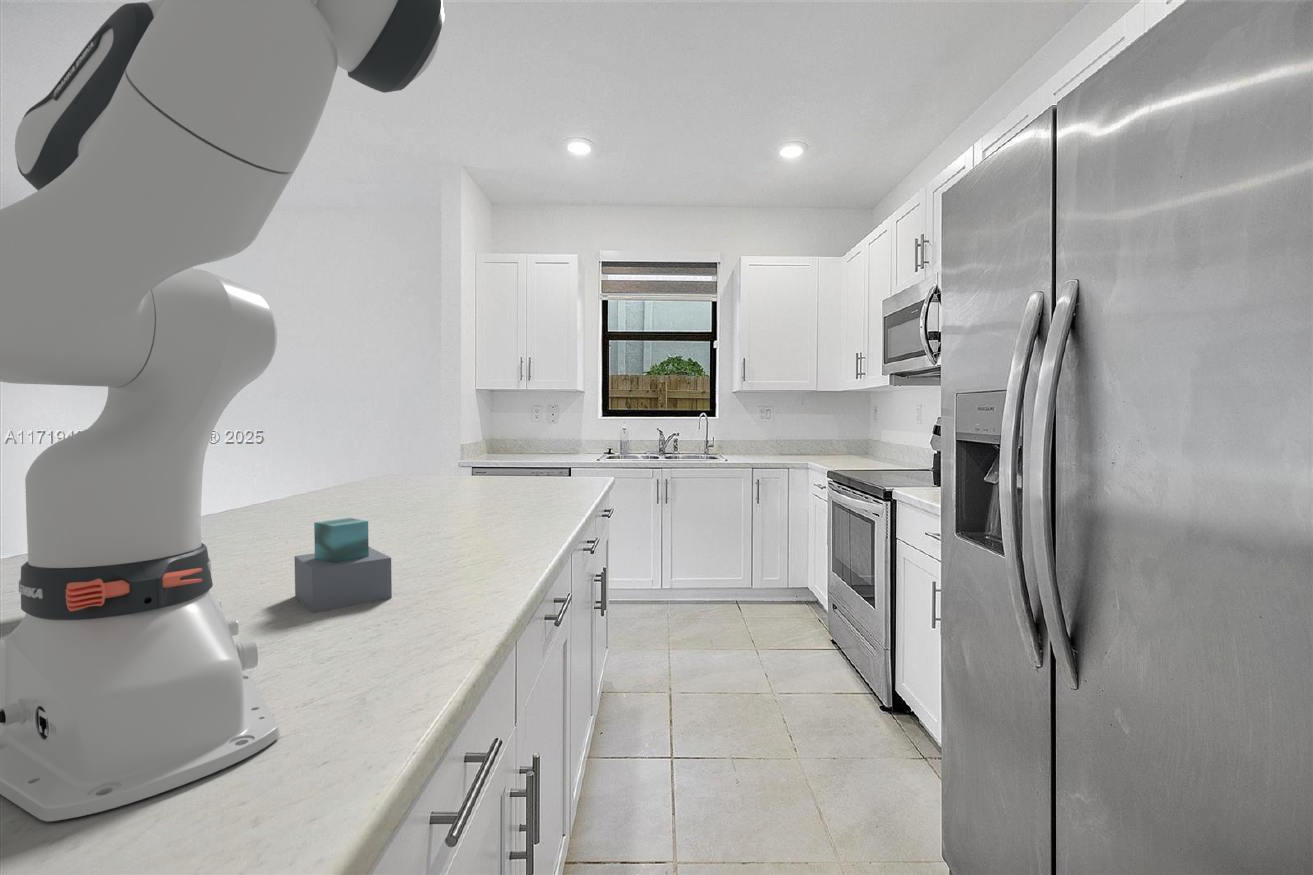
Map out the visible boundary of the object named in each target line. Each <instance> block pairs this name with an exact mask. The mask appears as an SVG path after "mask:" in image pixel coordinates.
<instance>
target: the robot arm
mask: <svg viewBox="0 0 1313 875" xmlns="http://www.w3.org/2000/svg"><path fill="white" fill-rule="evenodd" d="M443 6H444V4H443V0H149V1H146V2H142V1H141V2H139V1H138V2H130V3H124V4H123V5H121V6H119V7H118V8H117V9H116V10H115V11H114V12H113V13H112V14H111V15H110V16H109V17H108V18H107V19H106V20H105V22H104V23H102V25H101V26H100V27H99V28H98V29H97V31H96V32H95V33H94V34H93V36H92V37H91V38H90V39H89V40H88V42H87V43H86V45H85V46H84V47H83V48H82V50H81V51H80V53H79V54H78V55H77V56H76V58H75V59H74V61H73V62H72V63H71V65H69V67H68V69H66V71H65V72H64V74H63V75H62V76H61V78H59V80H58V82H57V83H56V84H55V85H54V87H53V88H52V89H51V91H50V92H49V93H48V94H47V95H46V96H45V97H44V98H43V99H41V100H40V101H38V102H37V103H35V104H34V105H33V106H31V107H30V108H29V109H28V110H27V111H26V112H25V114H24V116H23V117H22V119H21V121H20V123H19V125H18V127H17V130H16V134H15V139H14V152H15V155H14V156H15V159H16V165H17V168H18V172H19V173H20V175H21V176H22V177H23V178H24V180H25V181H27V182H28V183H29V184H30V185H31V186H32V187H33V188H35V189H36V190H37V191H34V193H31V194H30V195H28V196H26V197H24V198H23V199H21V200H18V201H17V202H14V203H12V204H9V205H7V206H5V207H4V208H1V209H0V382H2V383H8V384H19V385H20V384H23V385H50V386H51V385H52V386H53V385H54V386H55V385H56V386H81V387H82V386H83V387H105V388H107V398H106V402H105V405H104V406H103V410H102V411H101V413H100V415H99V416H98V418H97V419H96V420H95V421H94V422H93V424H91V425H90V426H89V427H88V428H87V429H84V430H82V431H79V432H77V433H74V434H72V435H70V436H67V437H65V438H63V439H61V440H59V441H57V442H55V443H53V444H51V445H50V446H48V447H47V448H45V449H44V450H43V451H42V452H41V453H40V454H39V455H38V456H37V457H36V458H35V459H34V461H33V462H32V463H31V465H30V467H29V469H28V470H27V472H26V475H25V481H24V482H25V486H24V487H25V509H26V510H25V512H26V540H27V541H26V542H27V561H26V562H25V563H23V564H22V565H21V566H20V579H19V581H18V593H19V594H20V609H21V611H23V612H24V613H25V616H24V617H23V619H22V620H21V621H20V623H19V624H18V625H17V626H16V627H15V628H14V629H13V630H12V632H10V633H9V634H8V635H7V636H5V637H4V638H3V639H2V640H0V795H1V796H3V797H4V798H6V799H7V800H9V801H11V803H13V804H15V805H17V806H19V808H21V809H23V810H24V811H26V812H27V813H29V814H31V815H32V816H33V817H35V818H37V819H38V820H41V821H44V822H58V821H61V820H62V821H63V820H69V819H74V818H79V817H83V816H87V815H93V814H97V813H99V812H100V813H101V812H104V811H108V810H111V809H116V808H119V807H122V806H125V805H129V804H132V803H134V802H135V803H136V802H137V801H141V800H144V799H146V798H147V799H148V798H150V797H153V796H156V795H159V794H161V793H164V792H167V791H170V790H172V789H175V788H178V787H181V786H184V785H186V784H188V783H191V782H194V781H196V780H199V779H202V778H204V777H206V776H209V775H211V774H214V773H216V772H219V771H221V770H224V769H226V768H228V767H230V766H232V765H234V764H236V763H238V762H241V761H242V760H245V759H247V758H249V757H251V756H252V755H255V754H256V753H258V752H260V751H261V750H263V749H265V748H266V747H267V746H269V745H270V744H272V743H274V742H275V741H277V739H278V738H279V737H280V731H279V730H280V729H279V725H278V722H277V720H276V718H275V716H274V713H272V711H271V709H270V707H269V705H268V703H267V701H266V699H265V697H264V696H263V694H262V692H261V690H260V688H259V687H258V685H257V683H256V681H255V679H254V677H253V675H252V673H251V672H250V671H248V670H252V669H255V668H256V667H258V662H259V655H258V653H259V652H258V647H257V643H256V641H254V640H253V641H252V640H250V641H249V640H248V641H244V642H240V643H236V644H235V642H234V638H233V637H234V636H237V635H238V634H239V623H238V620H237V619H231V620H227V619H226V617H225V614H224V611H223V609H222V606H223V605H222V600H221V599H219V598H218V597H217V596H214V595H212V594H211V591H210V590H211V589H212V587H213V586H214V584H213V578H212V572H211V571H212V561H211V559H210V558H209V553H208V547H207V545H206V544H204V543H203V542H202V493H203V492H202V490H203V489H202V488H203V472H204V463H205V458H206V452H207V449H208V446H209V442H210V439H211V436H212V434H213V432H214V429H215V427H216V425H217V423H218V422H219V419H220V418H221V416H222V415H223V413H224V411H225V409H226V408H227V407H228V406H229V404H230V403H231V401H232V400H233V399H234V398H235V397H236V396H237V395H238V393H240V392H241V391H242V390H243V389H244V388H245V387H246V386H248V385H249V384H251V383H252V382H253V381H256V380H257V379H258V378H259V377H260V376H262V375H263V373H264V372H266V370H267V368H268V367H269V365H270V364H271V362H272V359H273V358H274V355H275V353H276V349H277V345H278V344H277V343H278V330H277V324H276V321H275V318H274V315H273V312H272V310H271V307H269V305H268V303H267V302H266V300H265V299H264V297H262V296H261V295H260V294H259V293H258V292H257V291H255V290H253V289H251V288H249V287H246V286H245V285H241V284H239V283H237V282H234V281H232V280H230V279H227V278H224V277H222V276H220V275H217V274H214V273H212V272H209V271H206V270H202V269H197V268H194V267H196V266H201V265H205V264H209V263H213V262H218V261H221V260H224V259H228V258H231V257H233V256H235V255H238V254H239V253H241V252H243V251H244V250H246V249H248V247H249V246H251V245H252V244H253V242H254V241H255V240H256V239H257V237H258V235H259V234H260V232H261V230H262V228H263V227H264V225H265V223H266V222H267V220H268V218H269V216H270V214H272V211H273V209H274V208H275V206H276V204H277V202H278V201H279V199H280V197H281V195H282V194H283V192H284V190H286V187H287V186H288V184H289V182H290V180H291V178H292V177H293V175H294V174H295V171H296V170H297V168H298V166H299V165H300V163H301V161H302V159H303V157H304V155H305V154H306V151H307V150H308V148H309V146H310V143H311V141H312V139H313V137H314V135H315V132H316V130H317V128H318V126H319V123H320V120H321V118H322V115H323V113H324V110H325V107H326V104H327V102H328V99H329V97H330V96H329V95H330V93H331V90H332V86H333V83H334V79H335V77H336V74H337V69H338V67H339V68H340V69H342V70H345V72H346V71H347V76H348V78H351V79H352V80H354V81H356V82H358V83H359V84H362V85H364V86H366V87H368V88H370V89H372V90H374V91H377V92H381V93H384V94H385V93H392V92H398V91H402V90H403V89H406V88H407V86H408V85H410V83H411V82H413V81H415V80H416V79H417V78H418V77H420V76H421V75H422V74H423V73H424V72H425V71H426V70H427V68H428V67H429V66H430V64H431V63H432V62H433V60H434V57H435V55H436V53H437V50H438V47H439V44H440V40H441V34H442V29H443V26H444V23H445V22H444V21H445V12H444V11H445V10H444V7H443Z"/></svg>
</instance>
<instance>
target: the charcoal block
mask: <svg viewBox="0 0 1313 875" xmlns="http://www.w3.org/2000/svg"><path fill="white" fill-rule="evenodd" d="M392 587H393V586H392V557H390V556H388V555H386V554H385V553H382V552H380V551H379V550H376V549H374V548H372V547H371V546H369V556H367V557H362V558H356V559H351V560H346V561H341V562H335V563H333V562H329V561H325V560H321V559H316V558H315V552H314V553H308V554H300V555H294V597H296V599H297V600H299V602H301V603H302V604H303V605H304V606H305V607H306V608H307V609H308V610H309V611H310V612H312V614H314V613H319V612H325V611H330V610H335V609H341V608H346V607H352V606H357V605H362V604H368V603H374V602H378V601H384V600H389V599H392V596H393V595H392V594H393V592H392V590H393V589H392Z"/></svg>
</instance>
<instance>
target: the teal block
mask: <svg viewBox="0 0 1313 875" xmlns="http://www.w3.org/2000/svg"><path fill="white" fill-rule="evenodd" d="M313 532H314V537H313V538H314V553H315V558H316V559H321V560H325V561H329V562H333V563H335V562H341V561H346V560H351V559H356V558H362V557H367V556H369V547H370V546H369V520H363V519H359V518H358V519H357V518H352V517H347V518H338V519H332V520H331V519H330V520H325V521H324V520H323V521H316V522H314V531H313Z"/></svg>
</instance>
